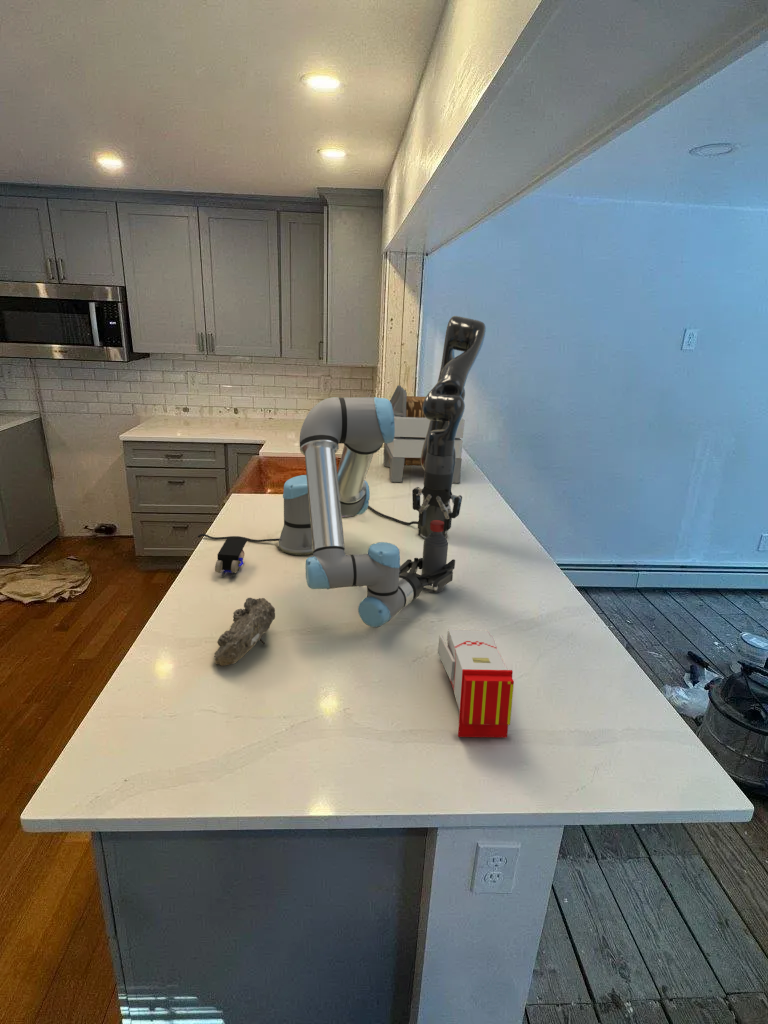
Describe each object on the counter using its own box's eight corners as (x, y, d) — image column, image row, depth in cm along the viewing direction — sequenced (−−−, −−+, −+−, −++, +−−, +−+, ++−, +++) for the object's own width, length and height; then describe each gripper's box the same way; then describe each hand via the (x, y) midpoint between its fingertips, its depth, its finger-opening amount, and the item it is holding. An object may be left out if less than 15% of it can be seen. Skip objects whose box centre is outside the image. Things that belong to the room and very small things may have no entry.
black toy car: (238, 584, 162) (249, 557, 175) (236, 562, 158) (247, 536, 172) (215, 584, 161) (227, 556, 175) (212, 561, 158) (225, 535, 171)
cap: (428, 530, 155) (429, 523, 155) (431, 526, 159) (432, 519, 158) (442, 533, 154) (442, 526, 153) (445, 528, 158) (446, 521, 157)
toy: (488, 613, 130) (523, 677, 101) (484, 667, 133) (517, 744, 104) (435, 612, 130) (455, 676, 101) (432, 666, 133) (451, 743, 103)
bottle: (426, 579, 167) (430, 518, 160) (447, 585, 164) (453, 523, 157) (416, 589, 161) (421, 525, 154) (438, 595, 158) (444, 530, 152)
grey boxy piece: (382, 463, 289) (386, 382, 275) (445, 464, 293) (451, 384, 279) (390, 482, 257) (394, 392, 243) (460, 483, 261) (468, 394, 247)
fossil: (230, 601, 141) (273, 572, 136) (255, 627, 144) (299, 600, 139) (195, 660, 122) (245, 629, 117) (226, 689, 125) (276, 660, 120)
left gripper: (369, 592, 152) (411, 563, 170) (435, 614, 142) (472, 581, 161) (370, 567, 149) (413, 540, 168) (437, 588, 140) (474, 557, 158)
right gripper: (469, 471, 151) (463, 529, 156) (420, 462, 157) (416, 518, 163) (458, 477, 144) (453, 538, 150) (408, 468, 151) (404, 526, 156)
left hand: (441, 560), depth 164 cm, fingers closed on bottle, 7 cm apart
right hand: (434, 527), depth 156 cm, fingers open, 6 cm apart
